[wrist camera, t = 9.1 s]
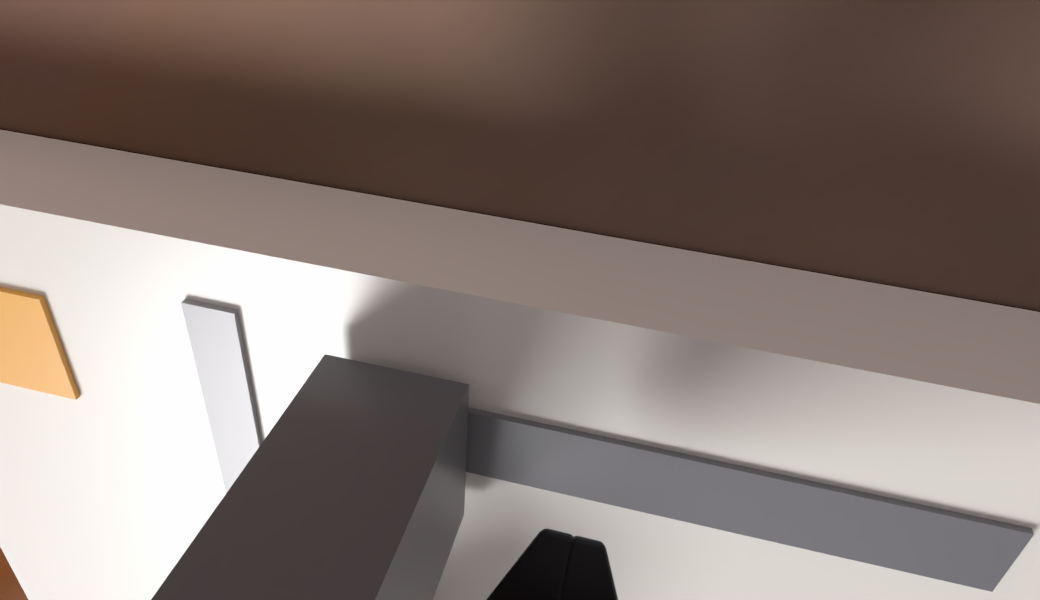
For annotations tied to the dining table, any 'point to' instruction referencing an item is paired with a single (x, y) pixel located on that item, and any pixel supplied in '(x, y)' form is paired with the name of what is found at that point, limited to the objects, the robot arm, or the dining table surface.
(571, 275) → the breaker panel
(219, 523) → the block
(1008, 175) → the dining table surface
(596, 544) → the robot arm
